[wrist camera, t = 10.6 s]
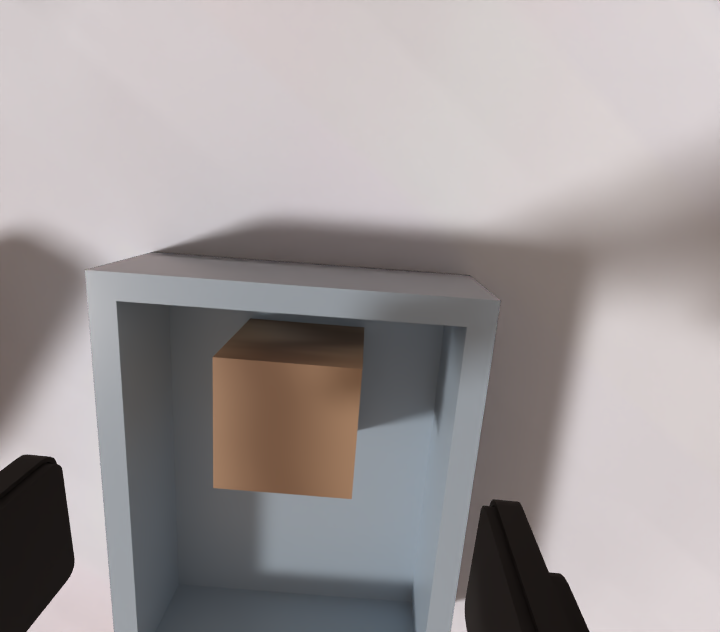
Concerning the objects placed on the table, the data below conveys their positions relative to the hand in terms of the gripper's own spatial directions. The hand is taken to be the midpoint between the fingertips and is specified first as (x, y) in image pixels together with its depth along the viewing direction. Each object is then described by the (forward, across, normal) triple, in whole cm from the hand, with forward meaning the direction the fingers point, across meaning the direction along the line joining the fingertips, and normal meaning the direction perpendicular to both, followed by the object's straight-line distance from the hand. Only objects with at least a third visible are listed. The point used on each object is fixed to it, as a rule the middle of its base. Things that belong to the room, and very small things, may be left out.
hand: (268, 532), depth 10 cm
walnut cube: (+11, +1, +1) cm, 11 cm away
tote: (+11, +1, +5) cm, 13 cm away
